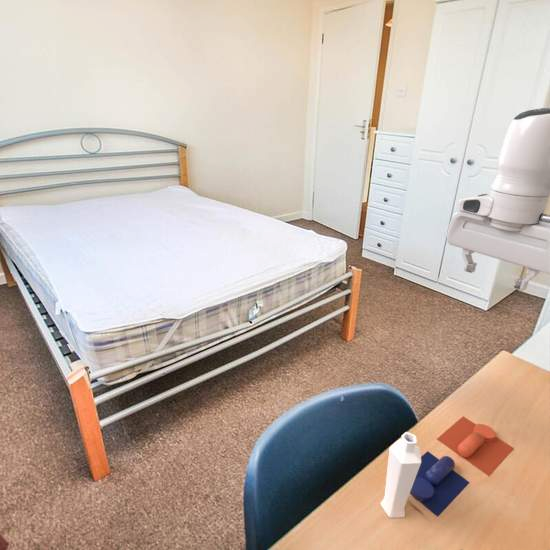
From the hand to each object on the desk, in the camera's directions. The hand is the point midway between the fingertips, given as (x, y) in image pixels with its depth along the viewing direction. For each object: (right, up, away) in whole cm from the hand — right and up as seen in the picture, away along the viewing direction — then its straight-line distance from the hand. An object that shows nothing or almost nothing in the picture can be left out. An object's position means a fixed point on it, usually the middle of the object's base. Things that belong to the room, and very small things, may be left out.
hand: (493, 279), depth 72 cm
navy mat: (-15, -35, -7) cm, 38 cm away
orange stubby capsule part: (-4, -31, 0) cm, 31 cm away
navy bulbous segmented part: (-15, -34, -8) cm, 38 cm away
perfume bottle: (-22, -36, -11) cm, 44 cm away
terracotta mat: (-4, -32, 0) cm, 32 cm away
